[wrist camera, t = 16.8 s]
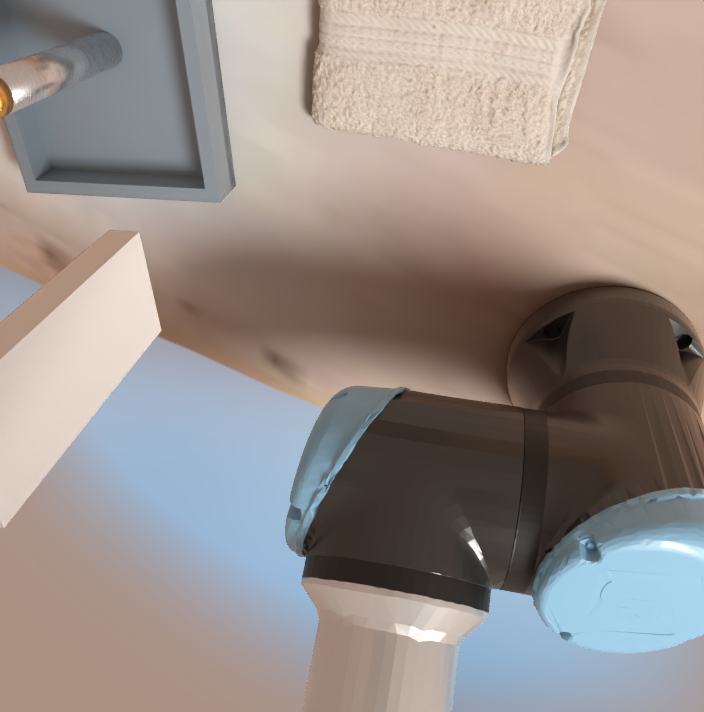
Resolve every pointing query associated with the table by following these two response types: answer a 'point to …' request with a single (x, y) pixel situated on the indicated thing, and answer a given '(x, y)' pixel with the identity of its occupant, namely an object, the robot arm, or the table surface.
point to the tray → (124, 102)
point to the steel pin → (56, 70)
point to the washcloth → (455, 72)
